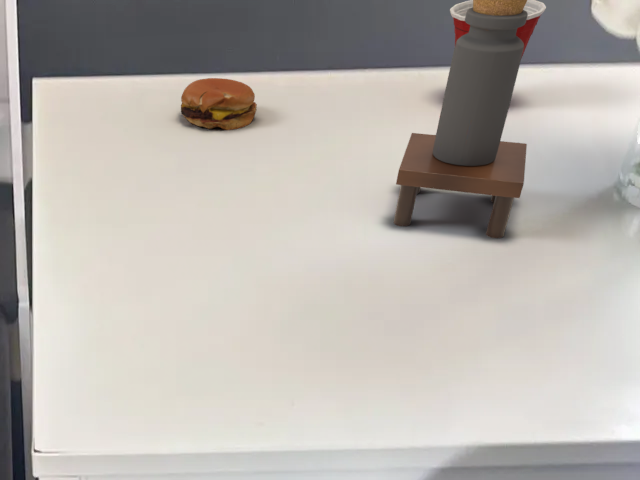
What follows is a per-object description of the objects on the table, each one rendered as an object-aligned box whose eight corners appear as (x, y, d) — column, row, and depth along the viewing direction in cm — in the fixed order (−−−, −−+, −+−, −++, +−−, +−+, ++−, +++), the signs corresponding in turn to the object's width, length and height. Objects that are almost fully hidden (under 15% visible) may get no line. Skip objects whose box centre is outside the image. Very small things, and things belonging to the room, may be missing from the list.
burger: (223, 103, 127) (226, 67, 125) (269, 122, 121) (273, 85, 118) (163, 118, 124) (165, 81, 121) (207, 138, 117) (209, 100, 114)
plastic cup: (421, 92, 128) (440, -4, 121) (502, 90, 128) (526, -7, 120) (445, 118, 120) (467, 16, 112) (533, 116, 119) (561, 13, 112)
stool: (511, 200, 99) (527, 143, 95) (507, 243, 91) (523, 183, 87) (400, 188, 102) (411, 132, 99) (387, 228, 94) (398, 169, 91)
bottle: (420, 156, 93) (454, -10, 84) (452, 141, 96) (489, -21, 87) (475, 171, 90) (517, -1, 81) (507, 155, 93) (551, -12, 84)
